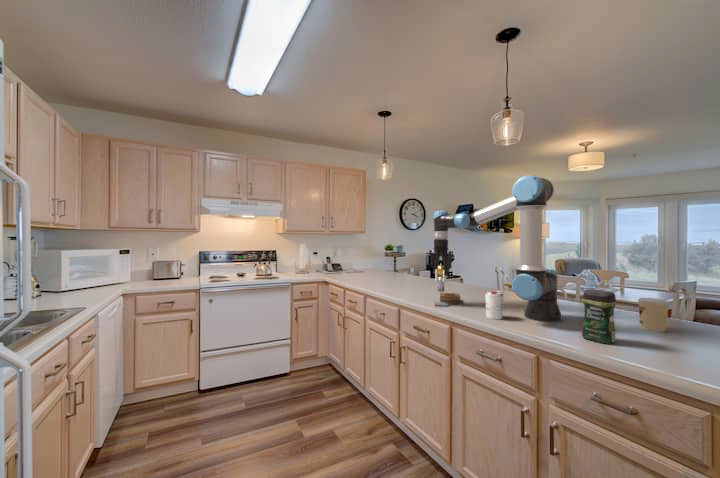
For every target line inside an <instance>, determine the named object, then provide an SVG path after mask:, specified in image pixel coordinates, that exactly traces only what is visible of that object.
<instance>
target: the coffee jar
mask: <svg viewBox="0 0 720 478" xmlns="http://www.w3.org/2000/svg"><path fill="white" fill-rule="evenodd" d="M616 300H617V299H616V294H615V292H612V291H606V290H601V289H592V288H591V289H586V290H584V291H583V296H582V302H583V305H584V314H583V315H584V316H583V324H582V332H581V336H582V338H583V339H586V340H588V339H589V341H592V342H595V341H596V342H597V343H600V342H601V344H605V343H606V344H610V343H611V344H614V343H615V342H616V328H615V316H614V313H615V307H616V304H617V301H616ZM613 342H614V343H613Z"/></svg>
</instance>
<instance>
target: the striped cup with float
mask: <svg viewBox="0 0 720 478" xmlns="http://www.w3.org/2000/svg"><path fill="white" fill-rule="evenodd" d="M484 294H485V295H484V296H485V297H484V299H485V300H484V301H485V317H486V318H487V319H489V320H495V321H497V320H502V319H503V313H504V294H505V292H504V291H499V290H485V291H484Z"/></svg>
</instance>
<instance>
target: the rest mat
mask: <svg viewBox="0 0 720 478" xmlns="http://www.w3.org/2000/svg"><path fill="white" fill-rule="evenodd" d="M434 307H443V308H445V307H446V308H448V307H449V304H448V302H440V301H434Z"/></svg>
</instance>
